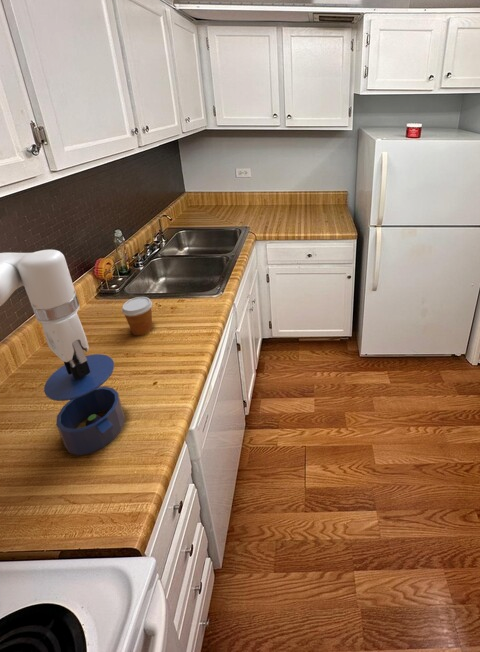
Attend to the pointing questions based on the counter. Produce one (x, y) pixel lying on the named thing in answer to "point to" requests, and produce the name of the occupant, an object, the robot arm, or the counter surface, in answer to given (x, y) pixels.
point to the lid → (67, 388)
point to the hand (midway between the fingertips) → (79, 372)
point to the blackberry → (92, 419)
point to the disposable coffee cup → (138, 315)
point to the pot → (94, 433)
